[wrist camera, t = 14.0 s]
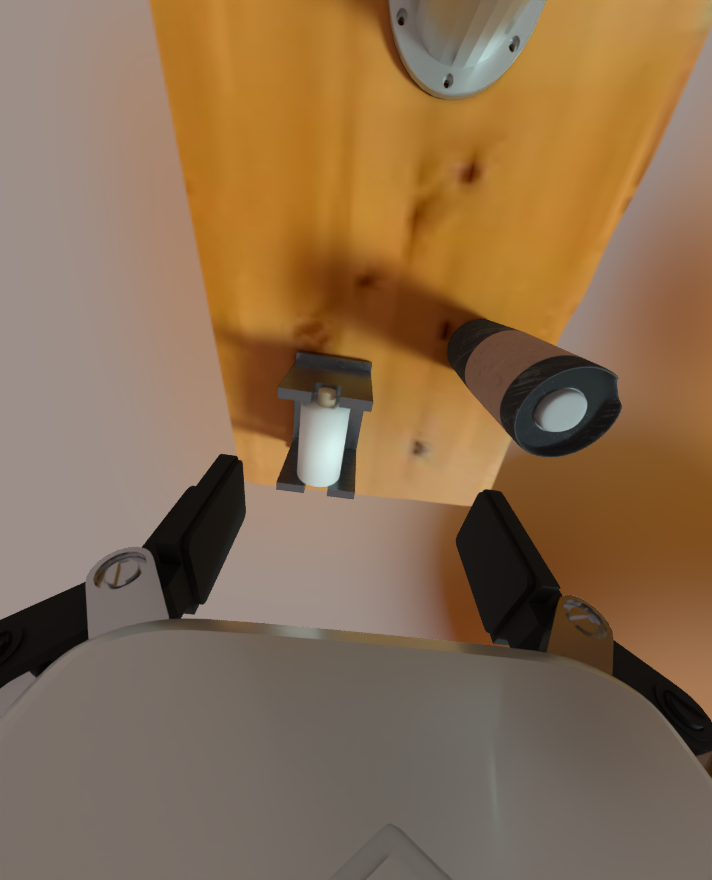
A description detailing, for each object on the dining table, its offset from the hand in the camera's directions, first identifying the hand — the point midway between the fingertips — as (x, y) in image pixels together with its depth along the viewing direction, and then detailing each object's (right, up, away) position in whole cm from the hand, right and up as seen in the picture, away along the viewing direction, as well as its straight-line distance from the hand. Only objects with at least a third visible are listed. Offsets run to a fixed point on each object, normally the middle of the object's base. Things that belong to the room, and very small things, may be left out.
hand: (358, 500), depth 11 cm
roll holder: (-4, +7, +31) cm, 32 cm away
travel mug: (+15, +15, +26) cm, 34 cm away
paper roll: (-4, +4, +26) cm, 27 cm away
